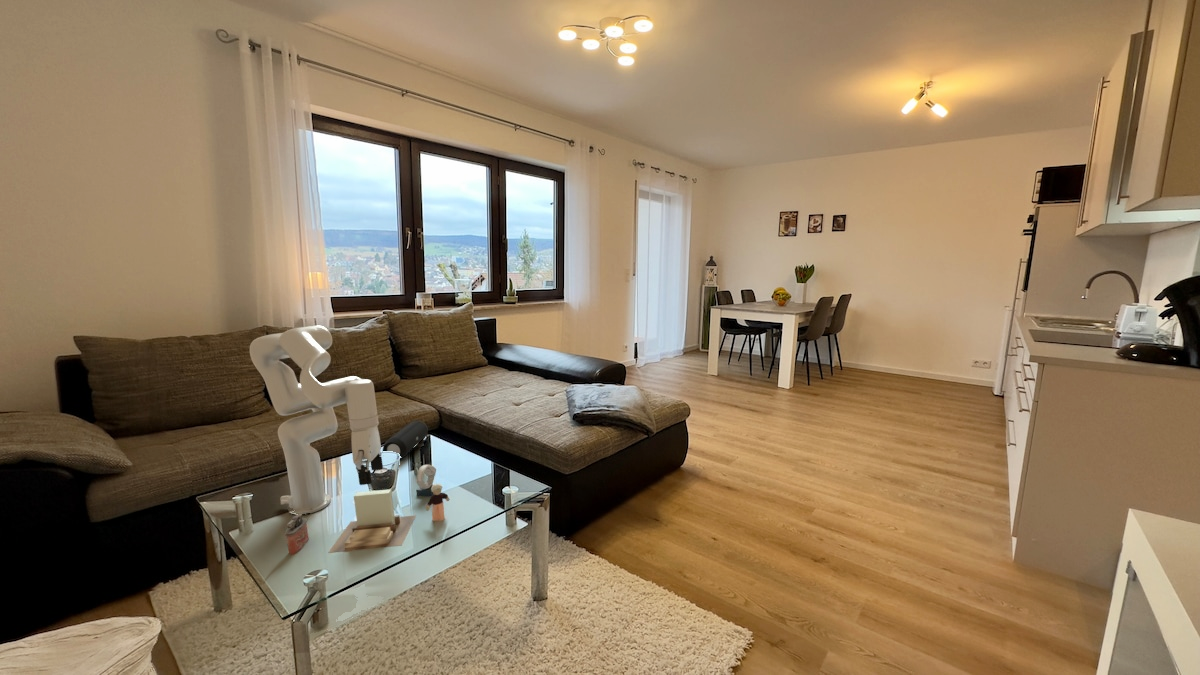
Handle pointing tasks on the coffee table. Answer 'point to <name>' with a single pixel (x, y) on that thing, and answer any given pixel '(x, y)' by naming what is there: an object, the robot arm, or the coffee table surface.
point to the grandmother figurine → (437, 503)
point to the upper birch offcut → (370, 534)
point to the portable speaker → (406, 438)
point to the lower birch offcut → (368, 542)
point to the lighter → (296, 534)
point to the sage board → (374, 507)
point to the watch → (426, 488)
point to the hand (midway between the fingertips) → (371, 476)
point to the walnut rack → (398, 528)
